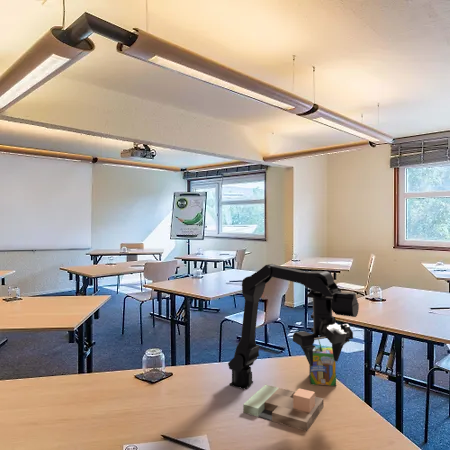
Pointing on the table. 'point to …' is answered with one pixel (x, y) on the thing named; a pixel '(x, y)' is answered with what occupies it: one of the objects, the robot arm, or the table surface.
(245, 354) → the robot arm
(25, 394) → the table surface
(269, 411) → the trap board
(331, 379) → the chalk box
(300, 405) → the terracotta block
